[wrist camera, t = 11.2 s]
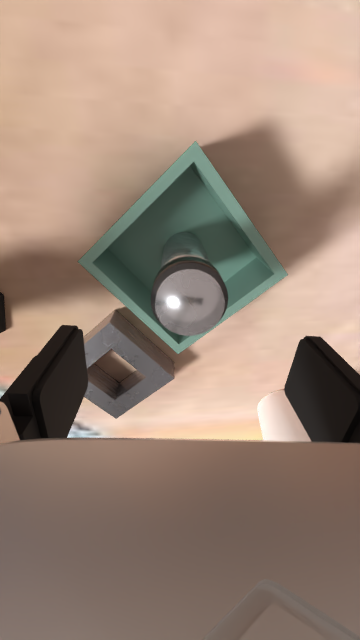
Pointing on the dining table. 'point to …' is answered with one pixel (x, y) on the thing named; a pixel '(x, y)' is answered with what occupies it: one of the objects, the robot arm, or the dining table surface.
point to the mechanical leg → (2, 313)
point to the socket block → (133, 349)
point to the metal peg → (188, 288)
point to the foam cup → (280, 419)
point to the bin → (174, 217)
